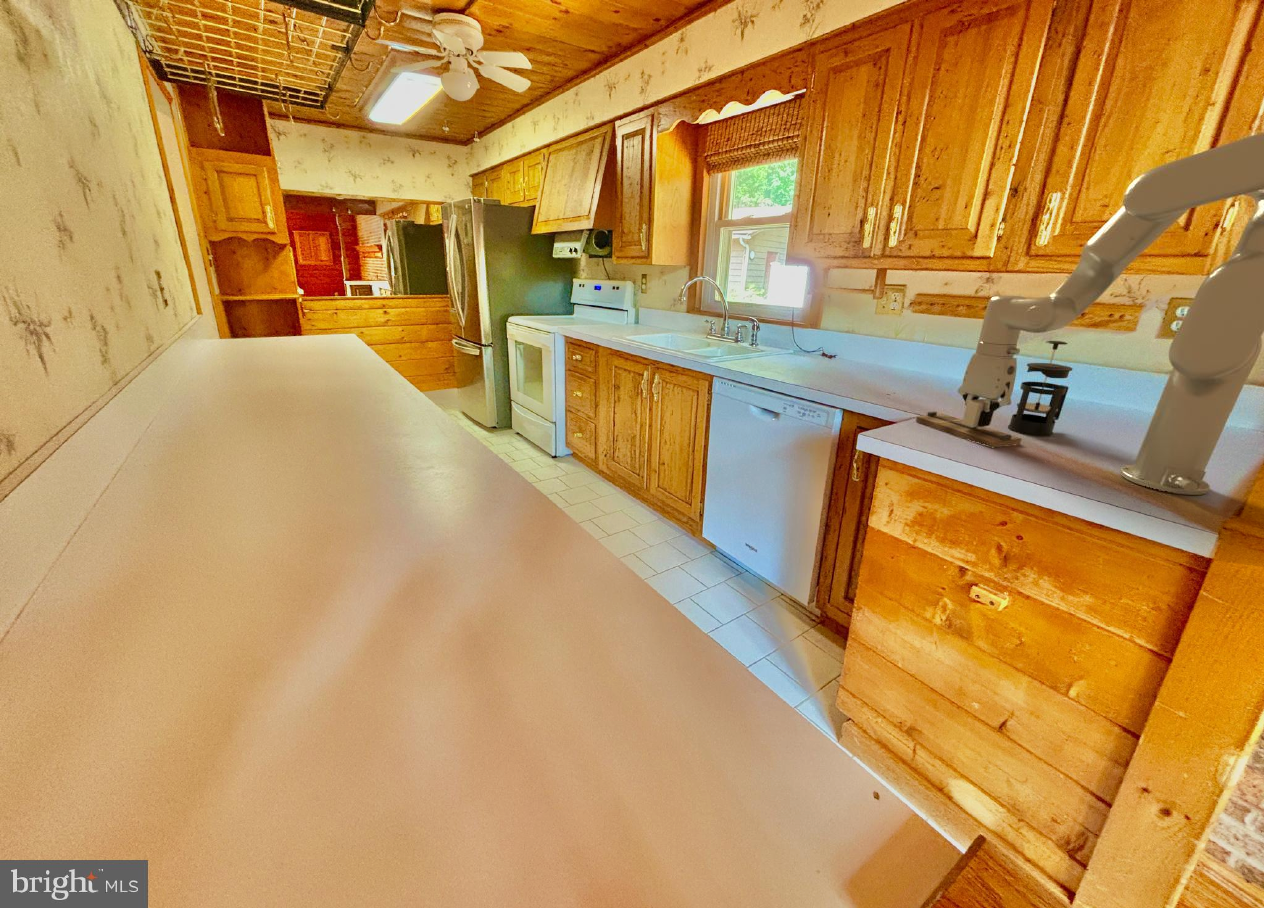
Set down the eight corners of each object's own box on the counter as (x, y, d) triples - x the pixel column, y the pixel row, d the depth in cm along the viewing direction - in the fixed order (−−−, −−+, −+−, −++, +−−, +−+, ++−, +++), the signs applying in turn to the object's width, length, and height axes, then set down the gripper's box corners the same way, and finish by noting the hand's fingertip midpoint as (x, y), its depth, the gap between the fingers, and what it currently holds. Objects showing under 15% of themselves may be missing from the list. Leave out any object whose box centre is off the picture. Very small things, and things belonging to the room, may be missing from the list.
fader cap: (989, 427, 126) (996, 401, 124) (971, 430, 124) (978, 403, 122) (978, 424, 129) (985, 398, 126) (960, 426, 127) (967, 400, 124)
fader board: (1019, 444, 121) (1022, 434, 120) (992, 448, 118) (995, 438, 117) (940, 418, 140) (942, 410, 139) (915, 421, 138) (917, 413, 137)
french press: (1026, 437, 126) (1054, 344, 117) (996, 425, 134) (1020, 338, 126) (1068, 435, 127) (1099, 343, 119) (1036, 424, 136) (1062, 337, 127)
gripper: (1042, 355, 113) (1019, 432, 120) (975, 344, 128) (957, 413, 134) (1018, 357, 111) (996, 435, 118) (952, 345, 125) (936, 416, 132)
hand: (976, 423), depth 126 cm, fingers closed on fader cap, 3 cm apart
